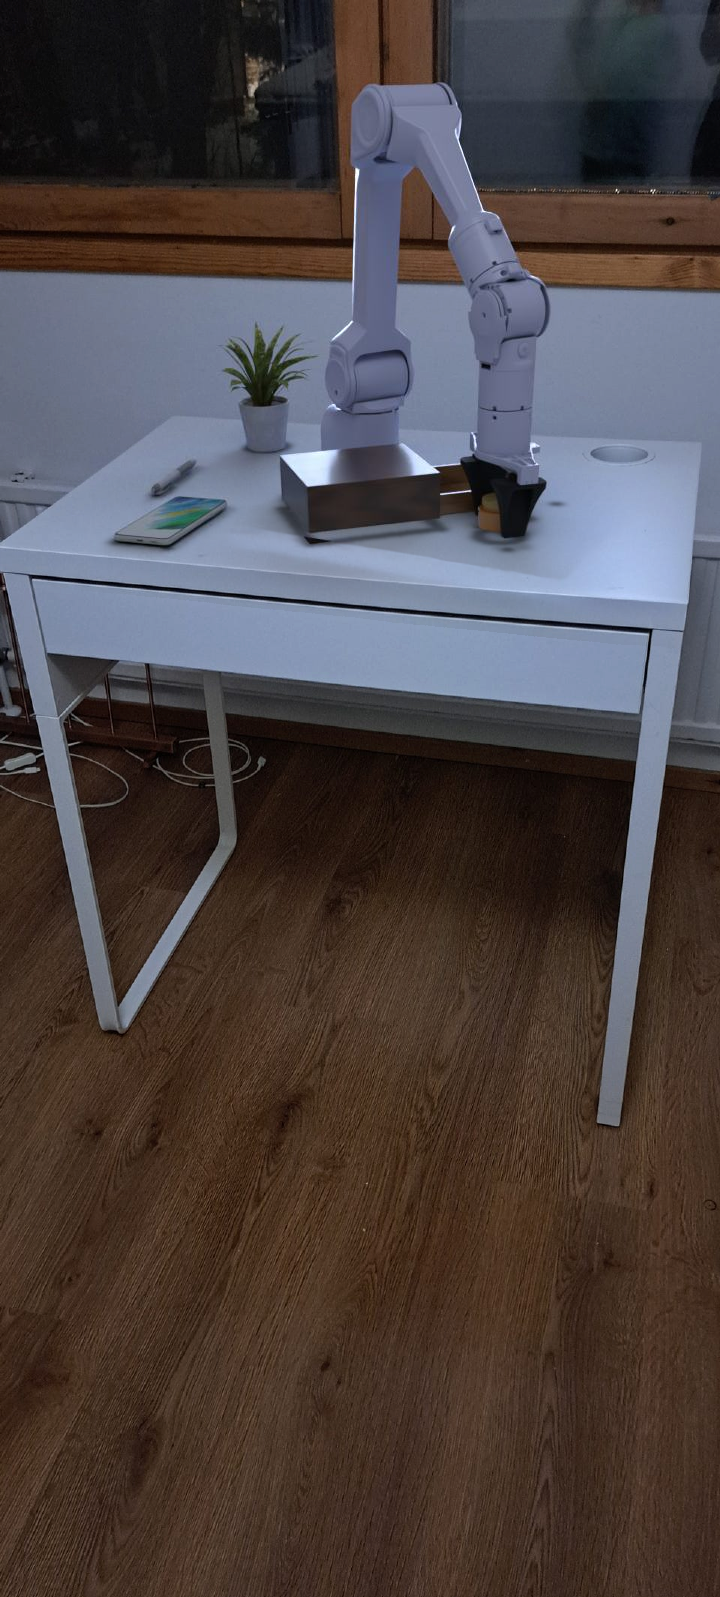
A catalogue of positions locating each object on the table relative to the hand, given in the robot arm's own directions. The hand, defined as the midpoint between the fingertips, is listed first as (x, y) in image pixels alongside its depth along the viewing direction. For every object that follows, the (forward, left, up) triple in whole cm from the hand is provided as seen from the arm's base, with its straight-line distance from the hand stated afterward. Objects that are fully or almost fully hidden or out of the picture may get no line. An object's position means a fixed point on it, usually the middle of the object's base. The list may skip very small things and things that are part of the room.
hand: (499, 531), depth 128 cm
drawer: (-9, +7, 0) cm, 11 cm away
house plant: (-43, +19, -1) cm, 48 cm away
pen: (-45, +1, -1) cm, 45 cm away
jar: (0, 0, 0) cm, 0 cm away
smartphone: (-35, -13, -1) cm, 38 cm away
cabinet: (-17, -1, 0) cm, 17 cm away
